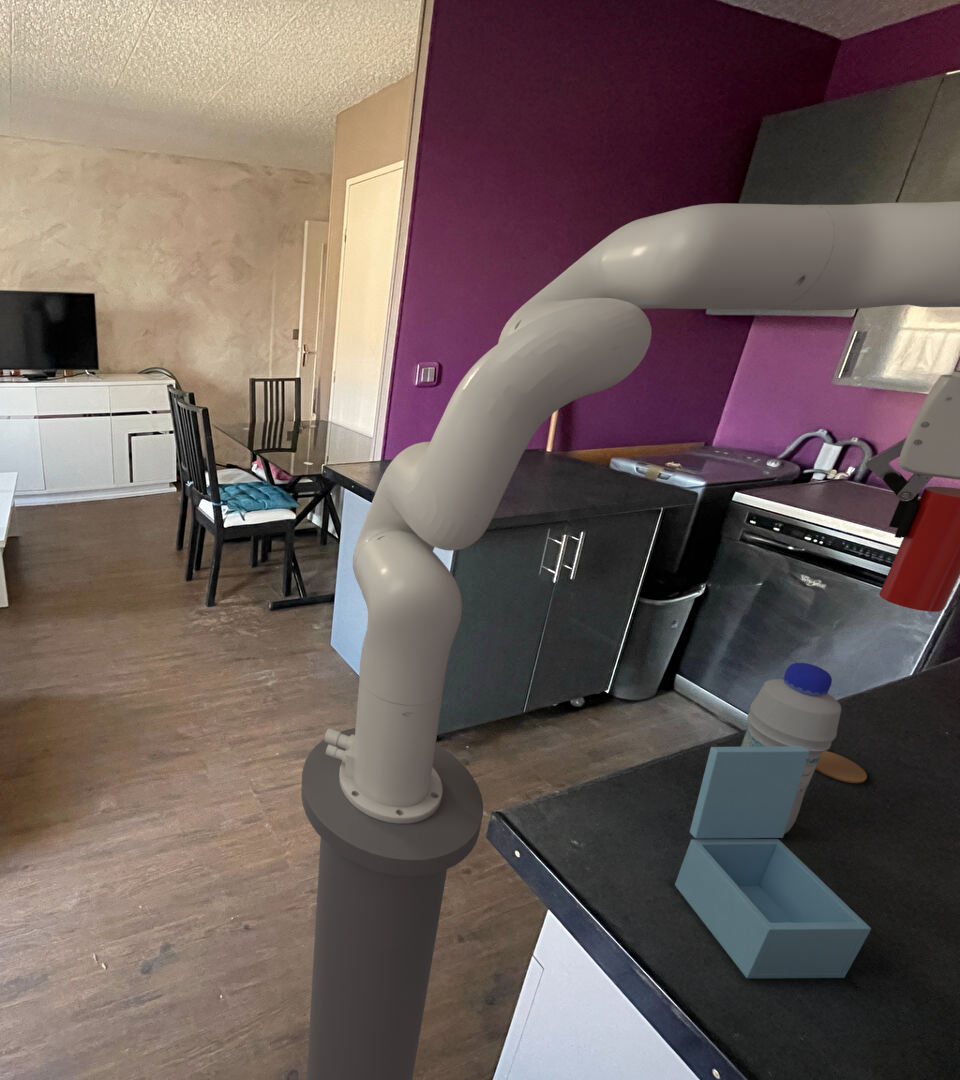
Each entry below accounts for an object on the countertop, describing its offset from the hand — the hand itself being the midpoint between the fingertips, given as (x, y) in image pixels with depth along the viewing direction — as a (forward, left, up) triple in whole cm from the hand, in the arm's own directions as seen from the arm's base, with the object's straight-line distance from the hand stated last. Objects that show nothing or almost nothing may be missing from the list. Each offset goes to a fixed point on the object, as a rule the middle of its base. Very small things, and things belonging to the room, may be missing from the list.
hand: (938, 540), depth 61 cm
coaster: (0, +1, -31) cm, 31 cm away
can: (0, 0, -7) cm, 7 cm away
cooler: (-12, -31, -31) cm, 45 cm away
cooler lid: (-14, -27, -19) cm, 37 cm away
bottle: (-10, -15, -31) cm, 36 cm away
